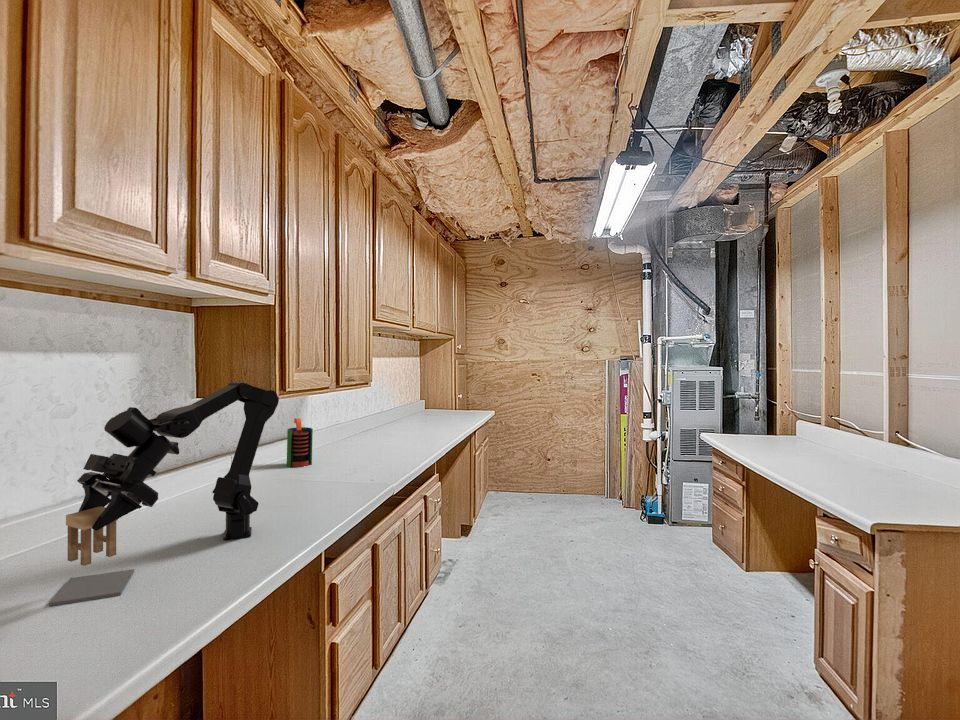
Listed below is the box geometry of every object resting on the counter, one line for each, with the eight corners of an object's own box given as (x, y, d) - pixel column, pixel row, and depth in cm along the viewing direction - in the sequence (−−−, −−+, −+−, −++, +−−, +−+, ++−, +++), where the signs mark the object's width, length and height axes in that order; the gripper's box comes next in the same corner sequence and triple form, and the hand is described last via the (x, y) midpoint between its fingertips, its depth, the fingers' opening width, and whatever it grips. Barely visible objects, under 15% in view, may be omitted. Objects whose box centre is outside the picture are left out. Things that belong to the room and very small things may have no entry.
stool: (100, 549, 99) (100, 506, 99) (117, 554, 97) (118, 510, 97) (65, 560, 94) (65, 515, 94) (83, 566, 91) (83, 519, 91)
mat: (70, 580, 100) (70, 577, 100) (134, 571, 104) (134, 569, 104) (49, 606, 90) (49, 603, 90) (120, 595, 94) (120, 592, 94)
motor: (293, 468, 199) (294, 421, 199) (281, 465, 204) (282, 419, 204) (314, 464, 207) (315, 418, 207) (303, 461, 213) (303, 416, 212)
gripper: (88, 434, 102) (22, 499, 92) (143, 441, 95) (78, 514, 85) (127, 463, 110) (70, 526, 100) (181, 472, 102) (125, 542, 92)
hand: (84, 527), depth 94 cm, fingers closed on stool, 6 cm apart
